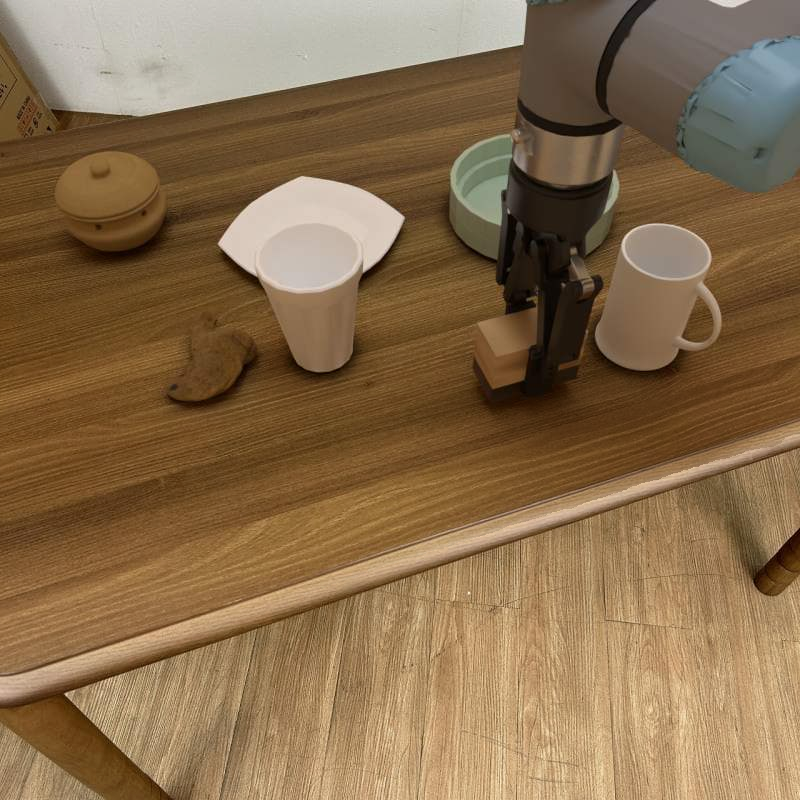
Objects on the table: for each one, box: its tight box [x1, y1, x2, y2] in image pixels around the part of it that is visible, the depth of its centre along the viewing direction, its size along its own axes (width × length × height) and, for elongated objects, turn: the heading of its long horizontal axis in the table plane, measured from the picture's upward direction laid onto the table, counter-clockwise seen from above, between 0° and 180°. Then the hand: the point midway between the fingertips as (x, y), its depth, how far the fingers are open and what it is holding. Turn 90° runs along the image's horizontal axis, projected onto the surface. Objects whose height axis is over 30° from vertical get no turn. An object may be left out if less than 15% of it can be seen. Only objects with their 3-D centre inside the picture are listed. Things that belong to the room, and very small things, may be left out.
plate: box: [217, 175, 406, 278], centre depth 88 cm, size 19×19×2 cm
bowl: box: [448, 133, 620, 261], centre depth 89 cm, size 19×19×6 cm
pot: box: [54, 150, 167, 253], centre depth 86 cm, size 12×12×10 cm
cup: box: [254, 221, 364, 373], centre depth 72 cm, size 10×10×13 cm
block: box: [472, 306, 589, 404], centre depth 70 cm, size 9×4×6 cm, turn 109°
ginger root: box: [165, 310, 258, 402], centre depth 75 cm, size 10×10×4 cm
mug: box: [594, 223, 723, 372], centre depth 72 cm, size 12×8×12 cm
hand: (525, 371), depth 72 cm, fingers closed on block, 4 cm apart
